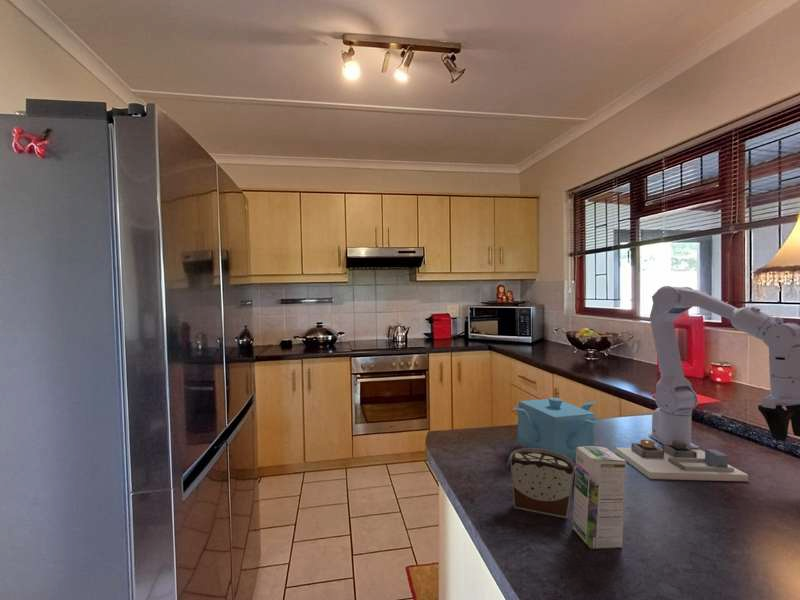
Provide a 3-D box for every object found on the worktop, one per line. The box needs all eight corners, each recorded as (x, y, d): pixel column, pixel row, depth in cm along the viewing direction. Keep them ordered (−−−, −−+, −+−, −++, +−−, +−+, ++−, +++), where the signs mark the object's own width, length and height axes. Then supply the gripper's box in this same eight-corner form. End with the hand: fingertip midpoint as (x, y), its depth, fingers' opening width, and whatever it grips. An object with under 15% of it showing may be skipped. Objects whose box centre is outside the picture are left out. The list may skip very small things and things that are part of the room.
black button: (669, 446, 99) (669, 440, 99) (680, 446, 99) (681, 440, 99) (677, 451, 96) (677, 444, 96) (689, 451, 96) (689, 445, 96)
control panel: (615, 453, 101) (615, 441, 101) (699, 455, 101) (700, 443, 101) (649, 478, 87) (650, 465, 87) (747, 481, 87) (748, 467, 87)
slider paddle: (704, 461, 93) (705, 449, 93) (714, 461, 93) (715, 449, 93) (717, 468, 89) (717, 455, 89) (727, 468, 89) (728, 455, 89)
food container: (573, 503, 76) (574, 452, 76) (576, 520, 70) (578, 465, 70) (507, 491, 80) (509, 443, 80) (506, 506, 74) (507, 454, 74)
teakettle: (522, 438, 110) (523, 386, 110) (596, 451, 102) (597, 395, 102) (509, 463, 94) (511, 402, 93) (596, 482, 85) (598, 415, 85)
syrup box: (571, 528, 68) (573, 445, 68) (603, 527, 68) (606, 445, 68) (589, 549, 62) (592, 460, 62) (624, 548, 63) (627, 459, 62)
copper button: (637, 445, 99) (638, 439, 99) (649, 445, 99) (649, 439, 99) (645, 450, 96) (645, 443, 96) (657, 450, 96) (657, 444, 96)
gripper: (789, 381, 81) (792, 447, 81) (830, 377, 86) (834, 440, 85) (750, 376, 88) (752, 437, 87) (790, 373, 93) (793, 431, 92)
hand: (790, 438), depth 87 cm, fingers open, 7 cm apart
